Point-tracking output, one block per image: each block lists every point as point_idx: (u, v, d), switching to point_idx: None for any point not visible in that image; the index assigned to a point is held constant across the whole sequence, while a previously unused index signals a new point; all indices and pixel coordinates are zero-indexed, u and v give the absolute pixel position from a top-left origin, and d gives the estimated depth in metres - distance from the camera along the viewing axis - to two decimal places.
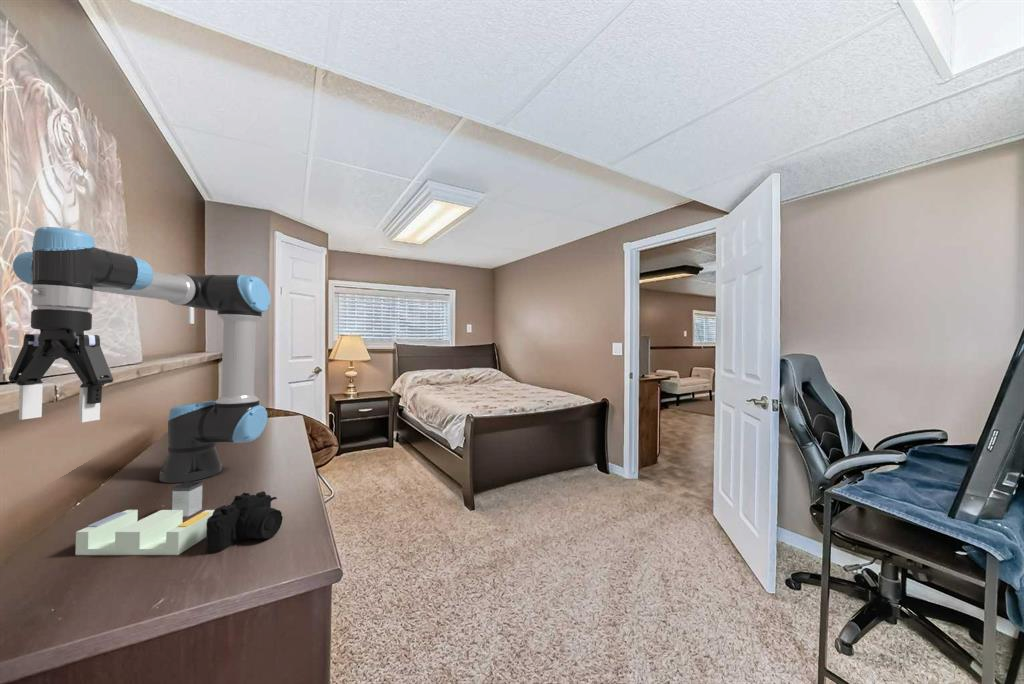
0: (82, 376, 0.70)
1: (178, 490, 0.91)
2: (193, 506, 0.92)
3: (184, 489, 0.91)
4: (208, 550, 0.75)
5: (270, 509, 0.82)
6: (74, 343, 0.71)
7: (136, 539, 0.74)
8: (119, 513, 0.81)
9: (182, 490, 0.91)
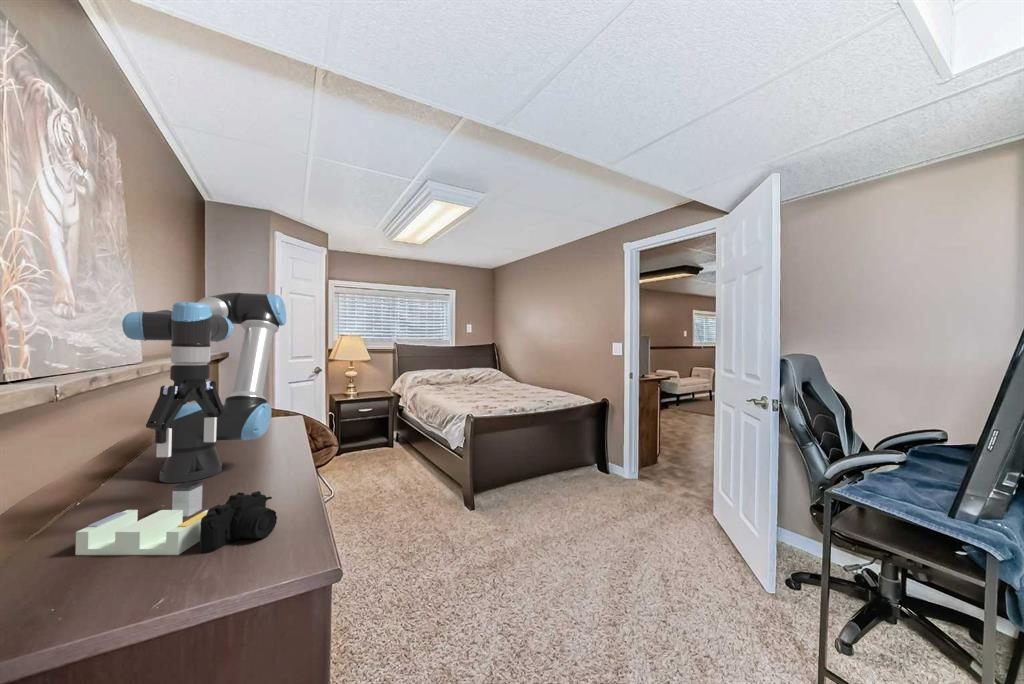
0: None
1: (178, 490, 0.91)
2: (193, 506, 0.92)
3: (184, 489, 0.91)
4: (202, 549, 0.75)
5: (264, 509, 0.82)
6: None
7: (136, 539, 0.74)
8: (119, 513, 0.81)
9: (182, 490, 0.91)
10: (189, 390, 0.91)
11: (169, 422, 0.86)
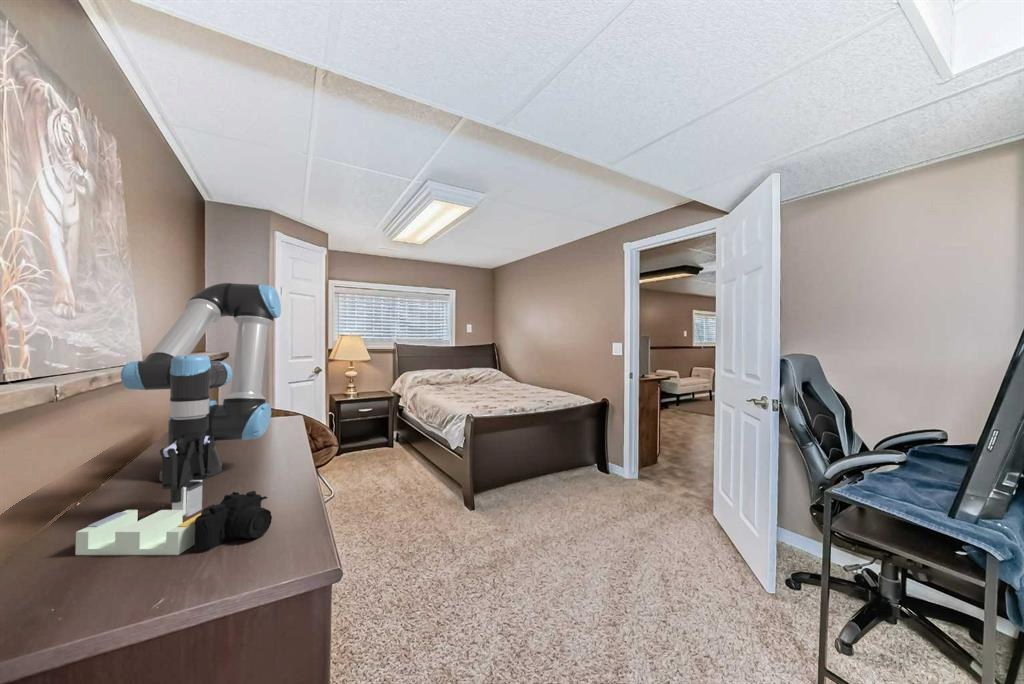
0: None
1: None
2: (193, 506, 0.92)
3: None
4: (196, 549, 0.75)
5: (259, 509, 0.82)
6: None
7: (136, 539, 0.74)
8: (119, 513, 0.81)
9: None
10: (188, 445, 0.91)
11: (182, 481, 0.90)
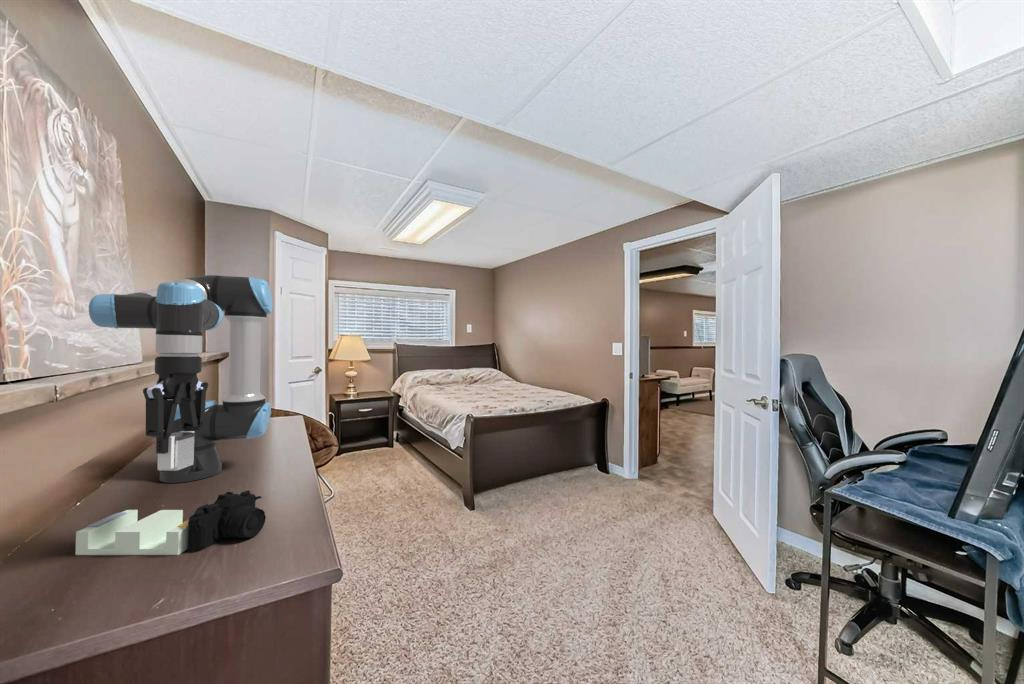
0: None
1: None
2: (183, 460, 0.79)
3: None
4: (189, 548, 0.75)
5: (253, 508, 0.82)
6: None
7: (136, 539, 0.74)
8: (119, 513, 0.81)
9: None
10: (177, 387, 0.78)
11: (170, 428, 0.76)
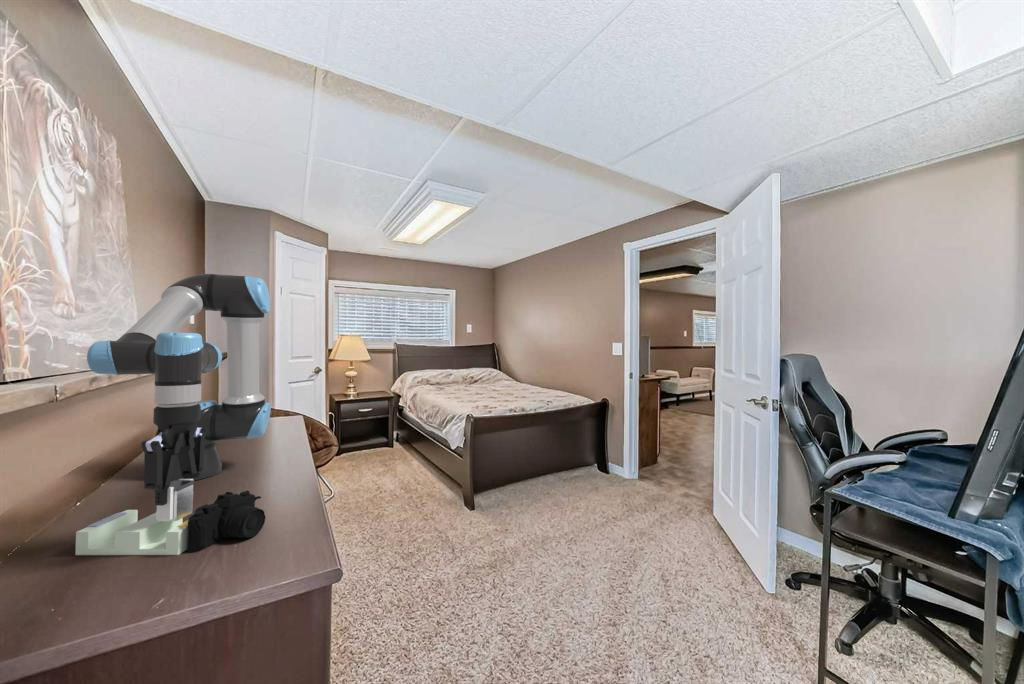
0: None
1: None
2: (182, 510, 0.79)
3: None
4: (189, 549, 0.75)
5: (252, 508, 0.82)
6: None
7: (136, 539, 0.74)
8: (119, 513, 0.81)
9: None
10: (176, 437, 0.78)
11: (169, 480, 0.76)
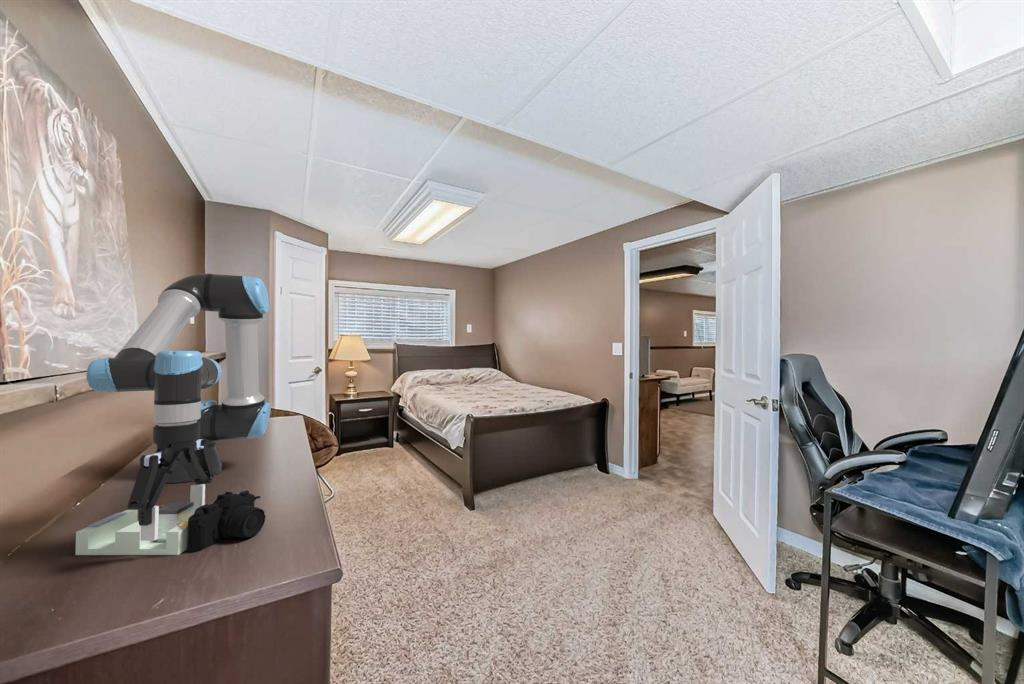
0: None
1: (164, 513, 0.77)
2: None
3: (171, 512, 0.77)
4: (189, 549, 0.75)
5: (252, 508, 0.82)
6: None
7: (136, 539, 0.74)
8: (119, 513, 0.81)
9: (169, 513, 0.77)
10: (175, 455, 0.77)
11: (155, 499, 0.73)
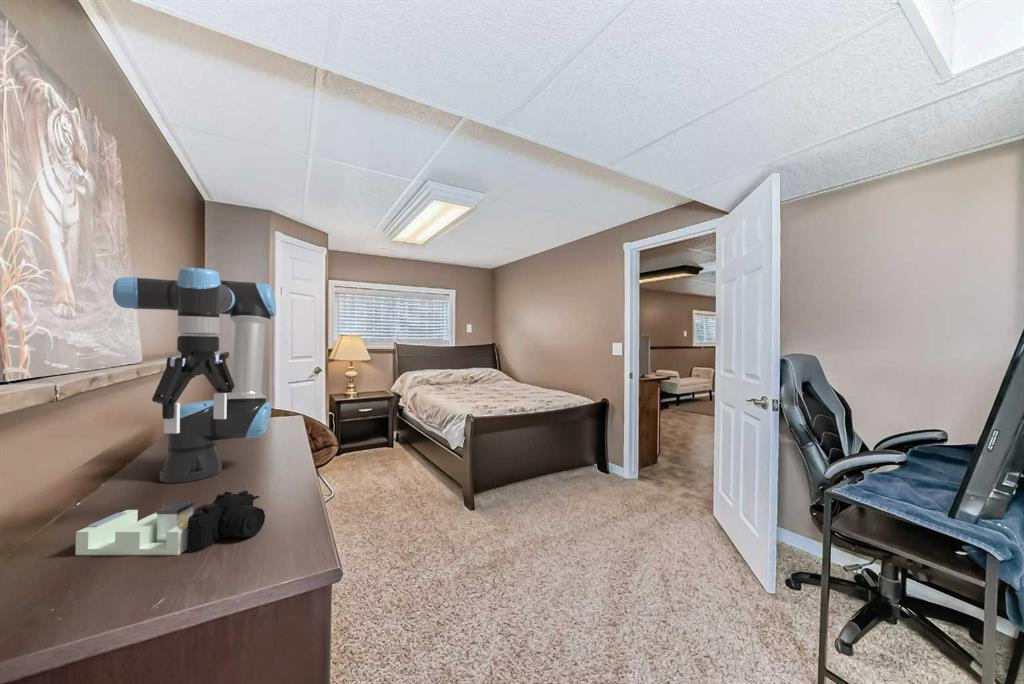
0: None
1: (164, 513, 0.77)
2: None
3: (171, 512, 0.77)
4: (189, 549, 0.75)
5: (252, 508, 0.83)
6: None
7: (136, 539, 0.74)
8: (119, 513, 0.81)
9: (169, 513, 0.77)
10: (197, 363, 0.85)
11: (177, 396, 0.80)
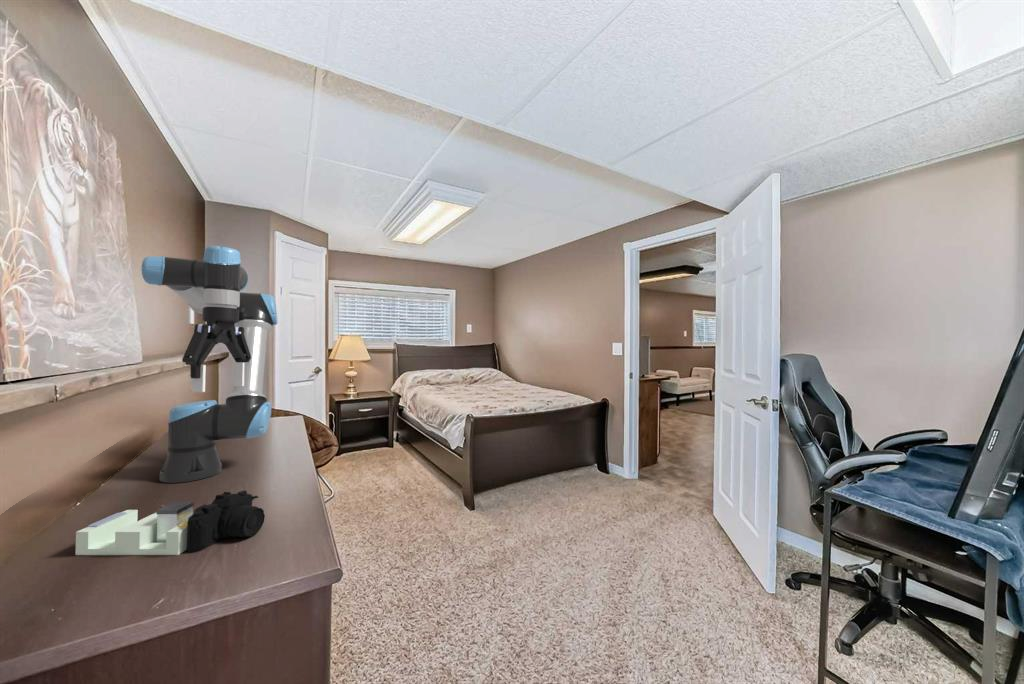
0: None
1: (164, 513, 0.77)
2: None
3: (171, 512, 0.77)
4: (189, 549, 0.75)
5: (252, 507, 0.83)
6: None
7: (136, 539, 0.74)
8: (119, 513, 0.81)
9: (169, 513, 0.77)
10: (220, 331, 0.95)
11: (203, 358, 0.90)
